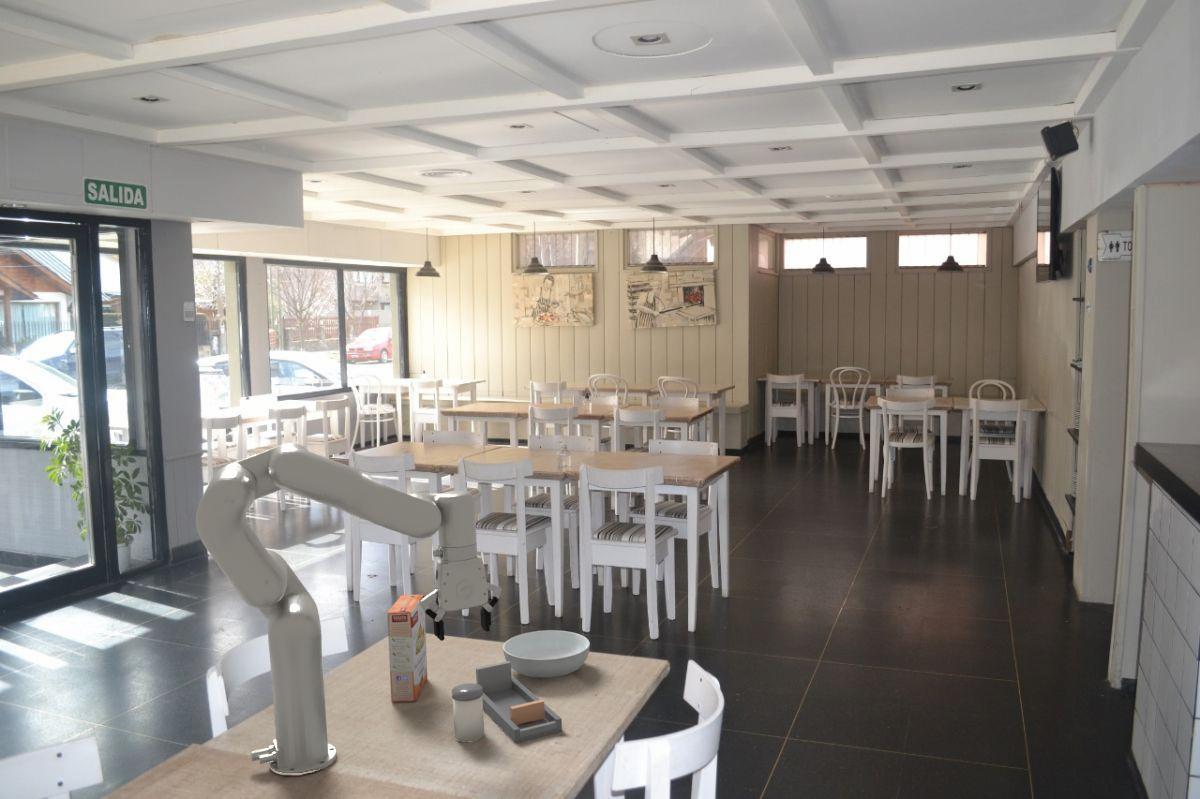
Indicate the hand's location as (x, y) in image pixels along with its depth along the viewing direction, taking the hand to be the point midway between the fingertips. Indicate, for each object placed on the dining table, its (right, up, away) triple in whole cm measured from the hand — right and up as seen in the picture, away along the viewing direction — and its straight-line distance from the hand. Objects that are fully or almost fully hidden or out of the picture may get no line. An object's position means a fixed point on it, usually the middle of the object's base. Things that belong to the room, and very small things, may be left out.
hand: (463, 634), depth 192 cm
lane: (+10, -20, +10) cm, 24 cm away
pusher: (+12, -19, +5) cm, 23 cm away
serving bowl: (+15, -18, +34) cm, 41 cm away
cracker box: (-16, -20, +25) cm, 36 cm away
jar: (+1, -21, 0) cm, 21 cm away
